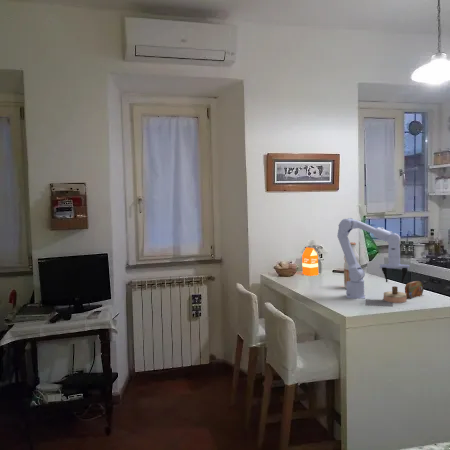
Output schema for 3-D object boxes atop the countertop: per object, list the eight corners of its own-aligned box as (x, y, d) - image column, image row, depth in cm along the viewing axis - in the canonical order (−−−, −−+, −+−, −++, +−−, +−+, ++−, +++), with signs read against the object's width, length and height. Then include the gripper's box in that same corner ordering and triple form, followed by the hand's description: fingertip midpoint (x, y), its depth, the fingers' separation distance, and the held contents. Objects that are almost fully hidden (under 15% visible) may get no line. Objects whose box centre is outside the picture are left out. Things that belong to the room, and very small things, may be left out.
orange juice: (310, 275, 294) (309, 248, 293) (302, 274, 301) (301, 247, 301) (318, 274, 298) (317, 247, 297) (310, 273, 305) (309, 246, 304)
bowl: (384, 302, 210) (383, 296, 209) (383, 297, 220) (383, 292, 220) (407, 303, 206) (407, 297, 206) (405, 298, 216) (405, 293, 216)
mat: (365, 305, 204) (365, 305, 204) (365, 300, 217) (365, 299, 216) (392, 307, 200) (392, 306, 200) (392, 301, 212) (392, 300, 212)
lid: (383, 296, 209) (383, 288, 209) (383, 292, 220) (383, 284, 219) (406, 298, 205) (406, 289, 205) (406, 293, 215) (405, 285, 215)
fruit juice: (341, 288, 248) (340, 242, 247) (351, 286, 254) (350, 241, 252) (353, 290, 241) (352, 243, 239) (363, 288, 246) (362, 242, 244)
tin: (409, 299, 214) (409, 284, 213) (403, 298, 216) (403, 283, 216) (424, 295, 223) (423, 280, 222) (418, 294, 225) (418, 279, 225)
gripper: (379, 257, 211) (379, 283, 211) (409, 257, 205) (410, 284, 206) (379, 255, 217) (379, 280, 218) (408, 255, 212) (409, 281, 213)
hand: (394, 282), depth 212 cm, fingers open, 7 cm apart
